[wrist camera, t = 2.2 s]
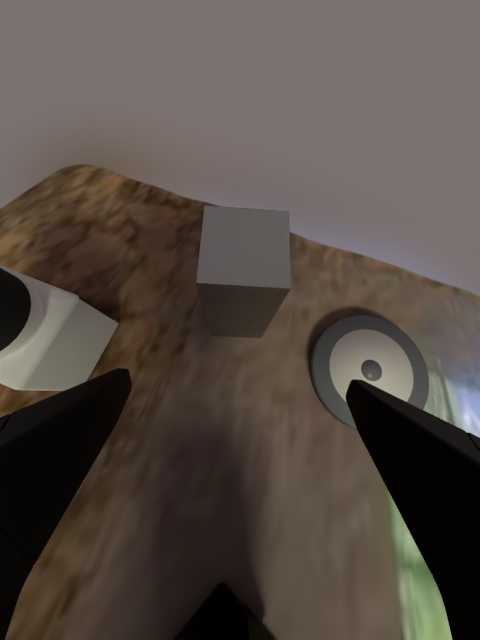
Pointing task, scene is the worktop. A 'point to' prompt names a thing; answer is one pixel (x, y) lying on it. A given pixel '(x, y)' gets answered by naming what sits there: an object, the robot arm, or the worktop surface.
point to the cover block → (243, 269)
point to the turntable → (366, 363)
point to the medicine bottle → (48, 334)
